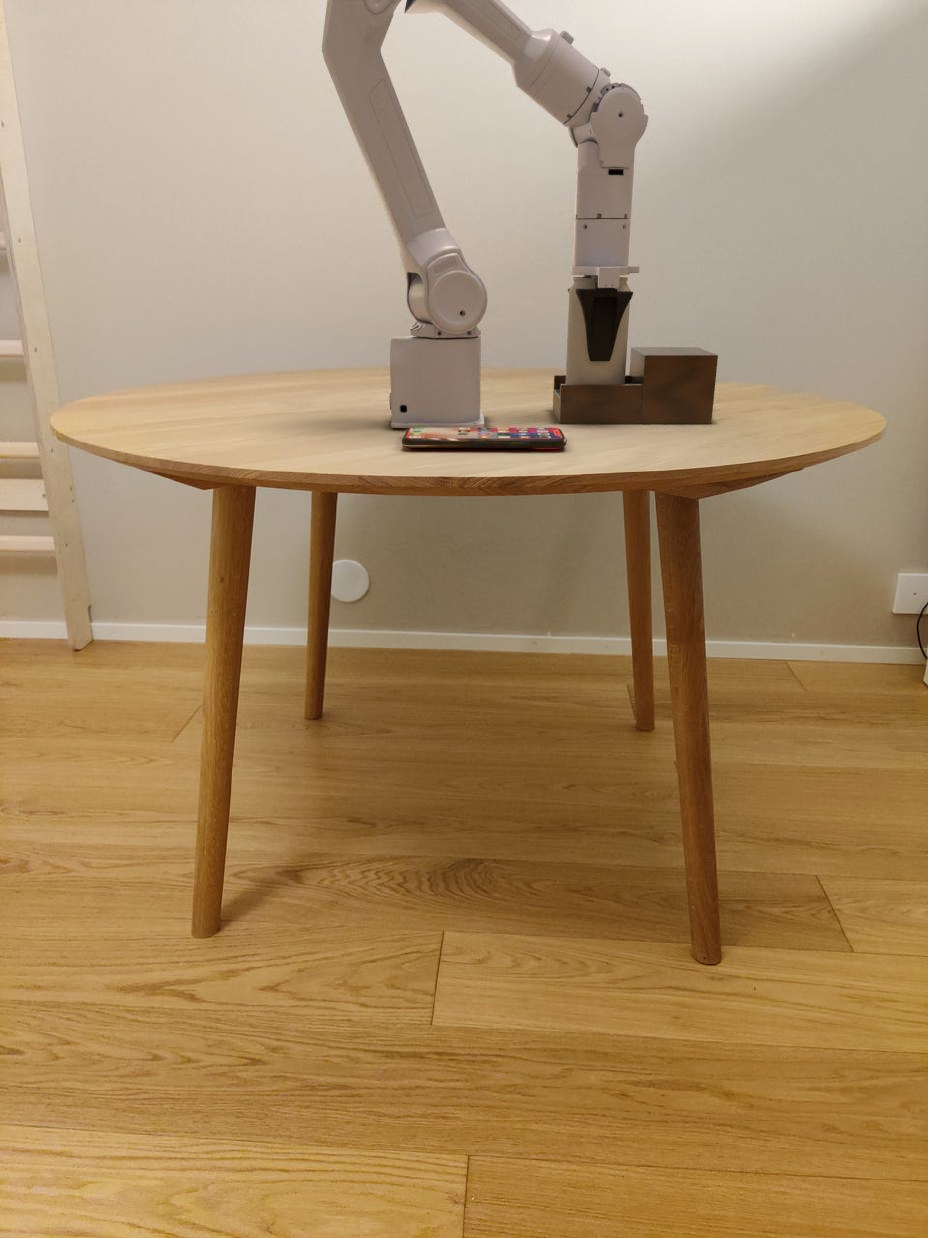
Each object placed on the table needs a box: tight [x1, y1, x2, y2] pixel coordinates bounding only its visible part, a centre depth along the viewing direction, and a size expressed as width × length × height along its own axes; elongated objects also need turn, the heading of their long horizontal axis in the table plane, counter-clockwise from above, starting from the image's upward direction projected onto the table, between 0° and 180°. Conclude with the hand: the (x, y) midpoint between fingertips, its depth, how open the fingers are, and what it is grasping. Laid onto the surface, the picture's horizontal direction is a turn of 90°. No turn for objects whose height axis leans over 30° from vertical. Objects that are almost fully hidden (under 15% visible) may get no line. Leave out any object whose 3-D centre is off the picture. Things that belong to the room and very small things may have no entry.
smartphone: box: [401, 426, 567, 450], centre depth 86 cm, size 7×1×15 cm
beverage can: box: [565, 276, 632, 384], centre depth 98 cm, size 6×6×12 cm
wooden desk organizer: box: [552, 346, 719, 425], centre depth 100 cm, size 16×9×7 cm, turn 90°
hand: (595, 357), depth 99 cm, fingers closed on beverage can, 6 cm apart
